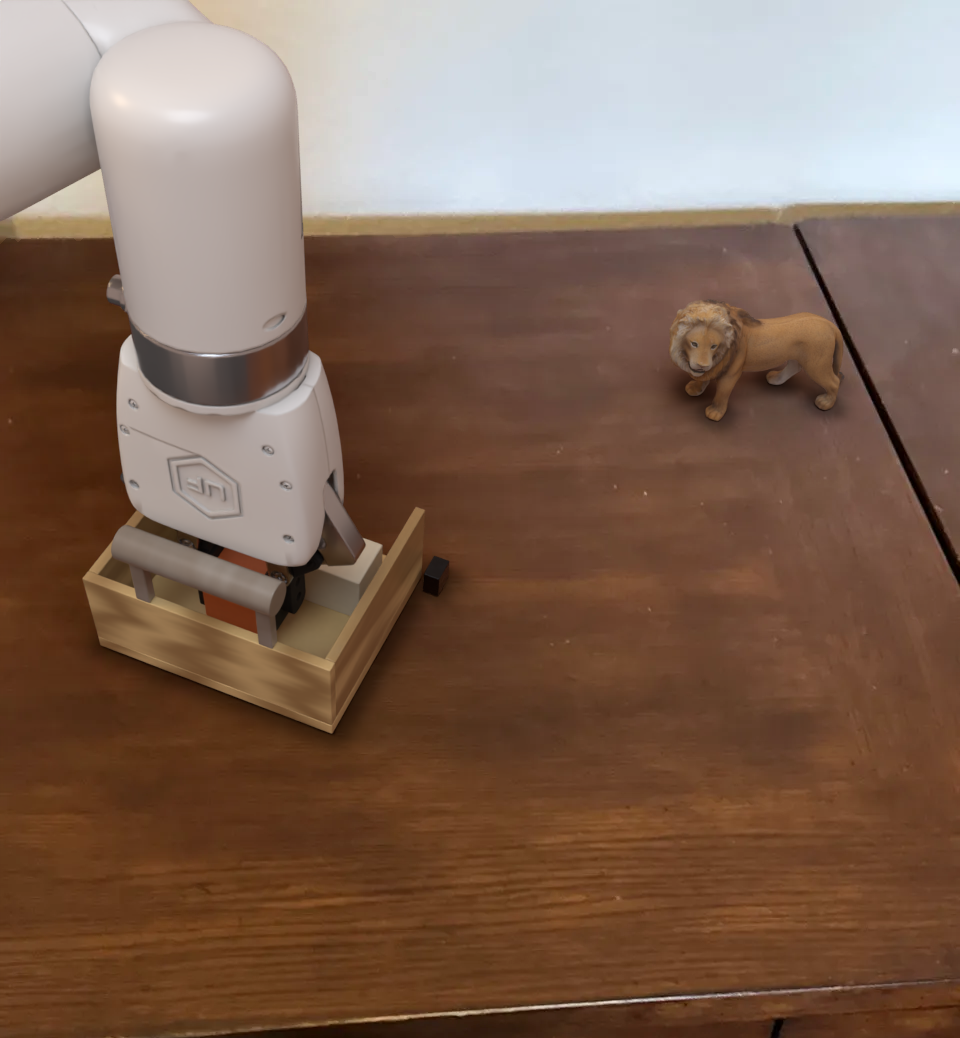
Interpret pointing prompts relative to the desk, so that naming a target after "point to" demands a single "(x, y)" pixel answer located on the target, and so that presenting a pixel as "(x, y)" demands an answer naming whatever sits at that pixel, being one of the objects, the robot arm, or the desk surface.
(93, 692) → the desk surface
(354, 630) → the wooden box
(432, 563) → the stand
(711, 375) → the lion figurine
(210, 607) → the orange block
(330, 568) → the block
